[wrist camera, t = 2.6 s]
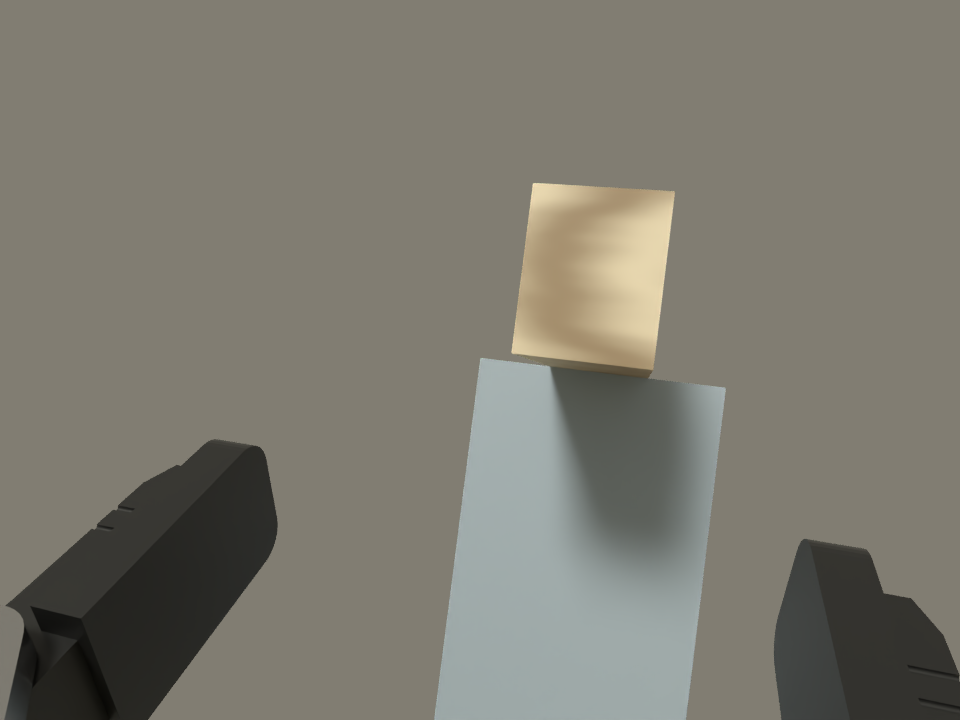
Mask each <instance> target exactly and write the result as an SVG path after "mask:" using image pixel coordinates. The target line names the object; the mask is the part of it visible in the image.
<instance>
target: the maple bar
mask: <svg viewBox="0 0 960 720" xmlns="http://www.w3.org/2000/svg"><path fill="white" fill-rule="evenodd" d="M674 195H675V191H659V190H642V189H641V190H640V189H625V188H609V187H591V186H575V185H559V184H542V183H533V189H532V196H531V204H530V212H529V220H528V228H527V235H526V243H525V251H524V259H523V267H522V275H521V283H520V291H519V298H518V306H517V314H516V322H515V330H514V338H513V346H512V354H515V355H518V356H521V357H524V358H527V359H530V360H532V361H536V362H538V363H541V364H544V365H547V366H550V367H558V368H566V369H574V370H582V371H591V372H599V373H607V374H615V375H623V376H632V377H640V378H648V377H649V376H650V374H651V373H652V371H653V366H654V359H655V351H656V343H657V334H658V326H659V318H660V309H661V301H662V294H663V285H664V277H665V268H666V261H667V253H668V244H669V235H670V228H671V220H672V212H673V203H674Z"/></svg>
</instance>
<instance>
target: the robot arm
mask: <svg viewBox="0 0 960 720" xmlns="http://www.w3.org/2000/svg"><path fill="white" fill-rule="evenodd" d="M276 535H277V516H276V510H275V505H274V499H273V494H272V489H271V483H270V477H269V472H268V466H267V461H266V457H265V454H264V452H263V450H262V449H261V448H260V447H258V446H253V445H247V444H241V443H235V442H229V441H223V440H216V439H214V440H211V441H209V442H207V443H206V444H204V445H203V446H202V447H201V448H200V449H199V450H198V451H197V452H196V453H195V454H193V455H192V456H191V457H190V458H189V459H188V460H187V461H186V462H185V463H184V464H183V465H182V466H179V465H176V466H174V467H172V468H170V469H168V470H167V471H165V472H163V473H161V474H159V475H157V476H155V477H153V478H151V479H150V480H148V481H146V482H144V483H143V484H142V485H141V486H139V487H138V488H137V489H136V490H135V491H134V492H133V493H131V494H130V495H129V496H128V497H127V498H126V499H125V500H124V501H123V502H121V503H120V504H119V505H118V509H117V510H113V511H111V512H110V513H109V514H108V515H107V516H106V517H105V518H103V519H102V520H101V521H100V522H99V523H98V524H97V528H96V529H95V530H93V529H91V530H90V531H89V532H88V533H87V534H86V535H84V536H83V537H82V538H81V539H80V540H79V541H78V542H77V543H76V544H74V545H73V546H72V547H71V548H70V549H69V550H68V551H67V552H66V553H64V554H63V555H62V556H61V557H60V558H59V559H58V560H57V561H55V562H54V563H53V564H52V565H51V566H50V567H49V568H48V569H46V570H45V571H44V572H43V573H42V574H41V575H40V576H39V577H38V578H37V579H35V580H34V581H33V582H32V583H31V584H30V585H29V586H28V587H26V588H25V589H24V590H23V591H22V592H21V593H20V594H19V595H17V596H16V597H15V598H14V599H13V600H12V601H10V602H9V603H8V604H7V605H6V606H2V605H0V720H148V719H149V717H150V716H151V715H152V713H153V712H154V711H155V709H156V708H157V706H158V705H159V704H160V703H161V701H162V700H163V699H164V697H165V696H166V695H167V693H168V692H169V691H170V689H171V688H172V687H173V685H174V684H175V683H176V681H177V680H178V678H179V677H180V676H181V674H182V673H183V672H184V670H185V669H186V668H187V666H188V665H189V664H190V662H191V661H192V660H193V658H194V657H195V656H196V654H197V653H198V652H199V650H200V649H201V648H202V646H203V645H204V644H205V642H206V641H207V640H208V638H209V637H210V635H211V634H212V633H213V632H214V630H215V629H216V627H217V626H218V625H219V624H220V622H221V621H222V619H223V618H224V617H225V615H226V614H227V613H228V611H229V610H230V608H231V607H232V606H233V605H234V603H235V602H236V601H237V599H238V598H239V597H240V595H241V594H242V593H243V591H244V589H246V587H247V586H248V584H249V583H250V582H251V581H252V579H253V578H254V577H255V575H256V574H257V573H258V571H259V570H260V569H261V567H262V566H263V564H264V563H265V562H266V560H267V559H268V557H269V555H270V553H271V551H272V549H273V546H274V544H275V540H276ZM774 663H775V673H776V680H777V688H778V695H779V703H780V710H781V718H782V720H960V682H959V673H958V670H957V668H956V665H955V663H954V660H953V658H952V656H951V653H950V650H949V648H948V646H947V643H946V641H945V638H944V636H943V634H942V633H941V632H940V631H939V630H938V629H937V628H936V626H935V625H934V624H933V623H932V622H931V621H930V620H929V618H928V617H927V616H926V615H925V614H924V613H923V612H922V610H921V609H920V608H919V607H918V606H917V605H916V604H915V602H914V601H913V600H912V599H911V598H905V597H900V596H895V595H889V594H884V593H883V590H882V587H881V584H880V581H879V579H878V576H877V573H876V570H875V567H874V564H873V560H872V558H871V555H870V554H869V552H868V551H867V550H866V549H862V548H856V547H849V546H844V545H837V544H832V543H826V542H820V541H814V540H808V539H804V540H802V541H801V543H800V545H799V547H798V550H797V553H796V556H795V560H794V563H793V567H792V570H791V574H790V577H789V581H788V584H787V588H786V591H785V595H784V598H783V602H782V605H781V609H780V612H779V615H778V619H777V624H776V631H775V641H774Z"/></svg>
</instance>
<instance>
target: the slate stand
mask: <svg viewBox="0 0 960 720" xmlns="http://www.w3.org/2000/svg"><path fill="white" fill-rule="evenodd" d="M724 397H725V388H721V387H714V386H705V385H697V384H689V383H681V382H673V381H665V380H656V379H648V378H640V377H632V376H623V375H615V374H607V373H599V372H591V371H582V370H574V369H566V368H558V367H550V366H541V365H533V364H525V363H517V362H508V361H500V360H492V359H484V358H481V359H480V367H479V375H478V382H477V390H476V398H475V406H474V414H473V421H472V430H471V438H470V445H469V453H468V460H467V468H466V476H465V485H464V492H463V500H462V507H461V515H460V523H459V531H458V538H457V546H456V555H455V562H454V570H453V577H452V586H451V593H450V601H449V609H448V617H447V624H446V632H445V641H444V648H443V655H442V663H441V671H440V679H439V687H438V694H437V702H436V710H435V718H434V720H686V716H687V708H688V699H689V691H690V682H691V674H692V666H693V657H694V648H695V640H696V632H697V623H698V615H699V607H700V599H701V590H702V582H703V574H704V565H705V557H706V548H707V539H708V532H709V523H710V515H711V507H712V498H713V489H714V481H715V473H716V465H717V456H718V448H719V439H720V431H721V423H722V414H723V405H724Z"/></svg>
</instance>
